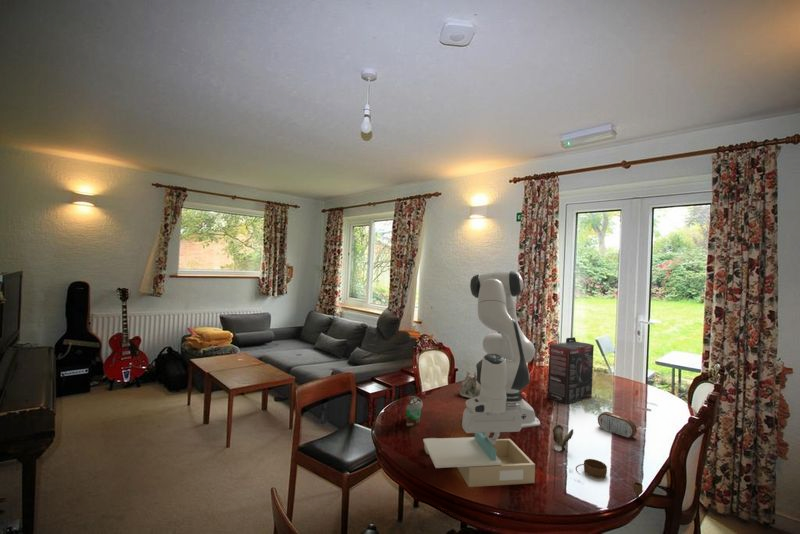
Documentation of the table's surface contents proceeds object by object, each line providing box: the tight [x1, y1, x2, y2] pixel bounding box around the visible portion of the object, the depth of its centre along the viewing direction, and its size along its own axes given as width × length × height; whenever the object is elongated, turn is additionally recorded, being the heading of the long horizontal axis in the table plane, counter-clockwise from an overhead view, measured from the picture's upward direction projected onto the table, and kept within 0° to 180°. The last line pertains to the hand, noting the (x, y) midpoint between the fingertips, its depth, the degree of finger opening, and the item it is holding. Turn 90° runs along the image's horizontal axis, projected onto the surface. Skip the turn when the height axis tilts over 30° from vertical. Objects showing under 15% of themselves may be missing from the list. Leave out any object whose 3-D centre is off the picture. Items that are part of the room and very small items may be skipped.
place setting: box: [575, 458, 644, 499], centre depth 123 cm, size 18×20×6 cm
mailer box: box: [456, 438, 536, 488], centre depth 127 cm, size 22×18×7 cm
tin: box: [597, 411, 638, 439], centre depth 161 cm, size 15×3×8 cm, turn 37°
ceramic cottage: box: [459, 370, 481, 399], centre depth 202 cm, size 16×16×15 cm
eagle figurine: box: [552, 424, 574, 453], centre depth 144 cm, size 8×7×9 cm
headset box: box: [546, 336, 595, 405], centre depth 207 cm, size 25×12×33 cm, turn 124°
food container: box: [405, 395, 424, 428], centre depth 164 cm, size 12×6×10 cm, turn 168°
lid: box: [422, 433, 502, 469], centre depth 125 cm, size 22×18×4 cm
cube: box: [423, 437, 438, 455], centre depth 139 cm, size 4×4×4 cm
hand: (491, 444), depth 127 cm, fingers closed
